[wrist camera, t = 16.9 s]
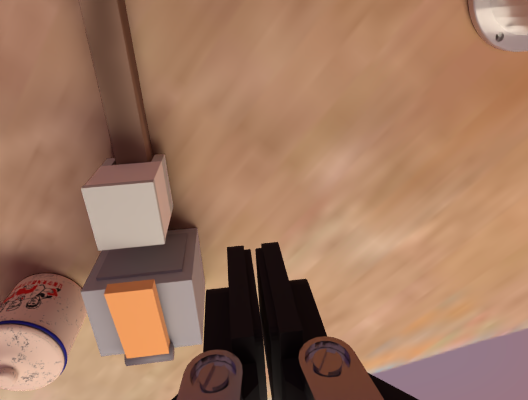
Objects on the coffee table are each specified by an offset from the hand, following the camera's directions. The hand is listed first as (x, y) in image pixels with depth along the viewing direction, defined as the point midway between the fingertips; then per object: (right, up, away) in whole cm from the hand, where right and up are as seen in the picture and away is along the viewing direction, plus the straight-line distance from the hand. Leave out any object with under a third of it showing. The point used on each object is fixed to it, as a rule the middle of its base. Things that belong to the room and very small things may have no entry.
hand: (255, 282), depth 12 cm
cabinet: (-12, -5, +33) cm, 35 cm away
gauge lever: (-11, -8, +23) cm, 27 cm away
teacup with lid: (-27, -10, +34) cm, 44 cm away
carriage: (-13, +5, +28) cm, 32 cm away
